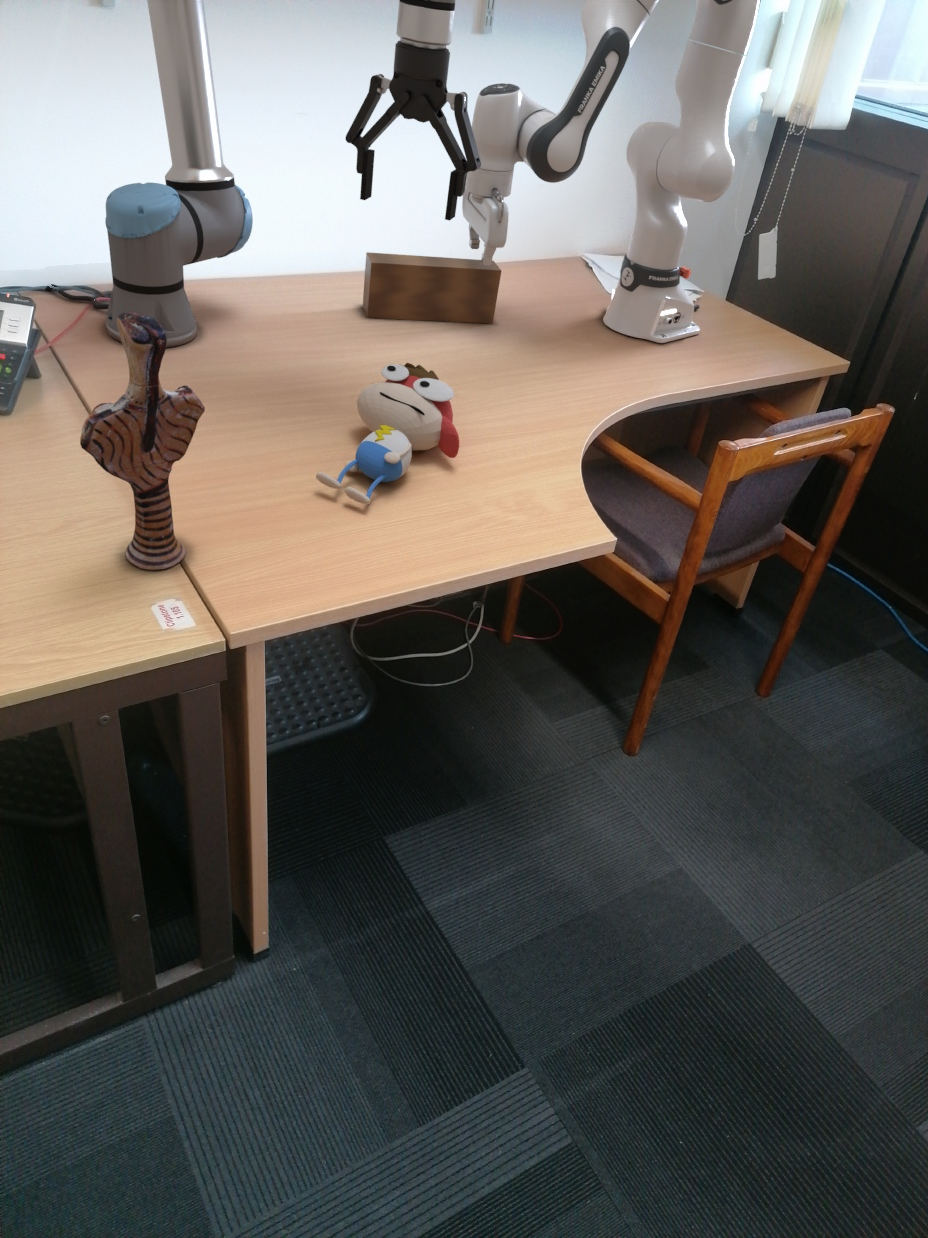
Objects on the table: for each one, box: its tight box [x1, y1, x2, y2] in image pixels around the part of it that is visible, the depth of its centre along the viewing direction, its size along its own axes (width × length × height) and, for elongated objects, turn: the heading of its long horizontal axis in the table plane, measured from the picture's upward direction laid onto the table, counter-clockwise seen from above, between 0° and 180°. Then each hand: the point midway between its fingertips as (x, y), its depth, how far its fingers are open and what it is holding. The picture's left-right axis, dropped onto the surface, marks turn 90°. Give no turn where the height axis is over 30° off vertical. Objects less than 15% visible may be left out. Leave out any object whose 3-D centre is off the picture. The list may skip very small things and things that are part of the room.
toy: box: [315, 362, 460, 505], centre depth 132 cm, size 18×10×30 cm
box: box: [362, 251, 502, 324], centre depth 180 cm, size 26×6×11 cm, turn 105°
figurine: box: [79, 312, 206, 571], centre depth 99 cm, size 15×8×30 cm, turn 144°
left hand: (407, 208), depth 134 cm, fingers open, 13 cm apart
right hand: (479, 255), depth 178 cm, fingers open, 8 cm apart
